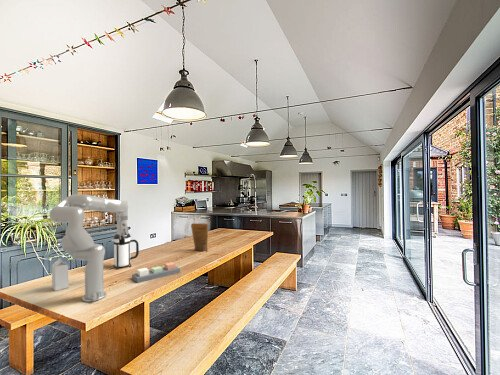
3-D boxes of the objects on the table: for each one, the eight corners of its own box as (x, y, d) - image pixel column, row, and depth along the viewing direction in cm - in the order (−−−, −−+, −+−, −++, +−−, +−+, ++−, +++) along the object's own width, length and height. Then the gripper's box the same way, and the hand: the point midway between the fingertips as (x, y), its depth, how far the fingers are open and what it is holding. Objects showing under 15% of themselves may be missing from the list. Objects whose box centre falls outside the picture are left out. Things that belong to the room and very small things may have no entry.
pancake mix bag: (206, 252, 252) (206, 224, 252) (190, 250, 260) (190, 223, 260) (210, 250, 258) (209, 223, 258) (194, 249, 266) (194, 222, 266)
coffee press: (125, 270, 201) (125, 232, 201) (107, 268, 205) (107, 231, 204) (139, 263, 218) (138, 228, 218) (122, 262, 221) (122, 227, 221)
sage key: (162, 274, 189) (162, 268, 189) (154, 276, 185) (154, 269, 185) (159, 272, 193) (159, 266, 193) (151, 274, 189) (151, 267, 189)
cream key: (148, 276, 182) (148, 269, 182) (140, 278, 178) (139, 271, 178) (145, 274, 187) (145, 267, 187) (137, 276, 183) (137, 269, 183)
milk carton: (65, 285, 172) (64, 256, 172) (68, 287, 167) (68, 258, 167) (52, 288, 166) (51, 259, 166) (55, 291, 162) (54, 261, 162)
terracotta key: (175, 270, 195) (175, 263, 195) (167, 272, 191) (167, 265, 191) (172, 268, 200) (171, 262, 200) (164, 270, 196) (164, 263, 196)
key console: (180, 272, 195) (180, 268, 195) (137, 283, 174) (137, 278, 174) (173, 268, 204) (173, 265, 204) (132, 278, 183) (132, 274, 183)
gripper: (130, 219, 176) (130, 245, 176) (124, 217, 187) (124, 242, 187) (118, 220, 171) (119, 247, 171) (113, 218, 182) (113, 243, 182)
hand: (122, 244), depth 179 cm, fingers closed
